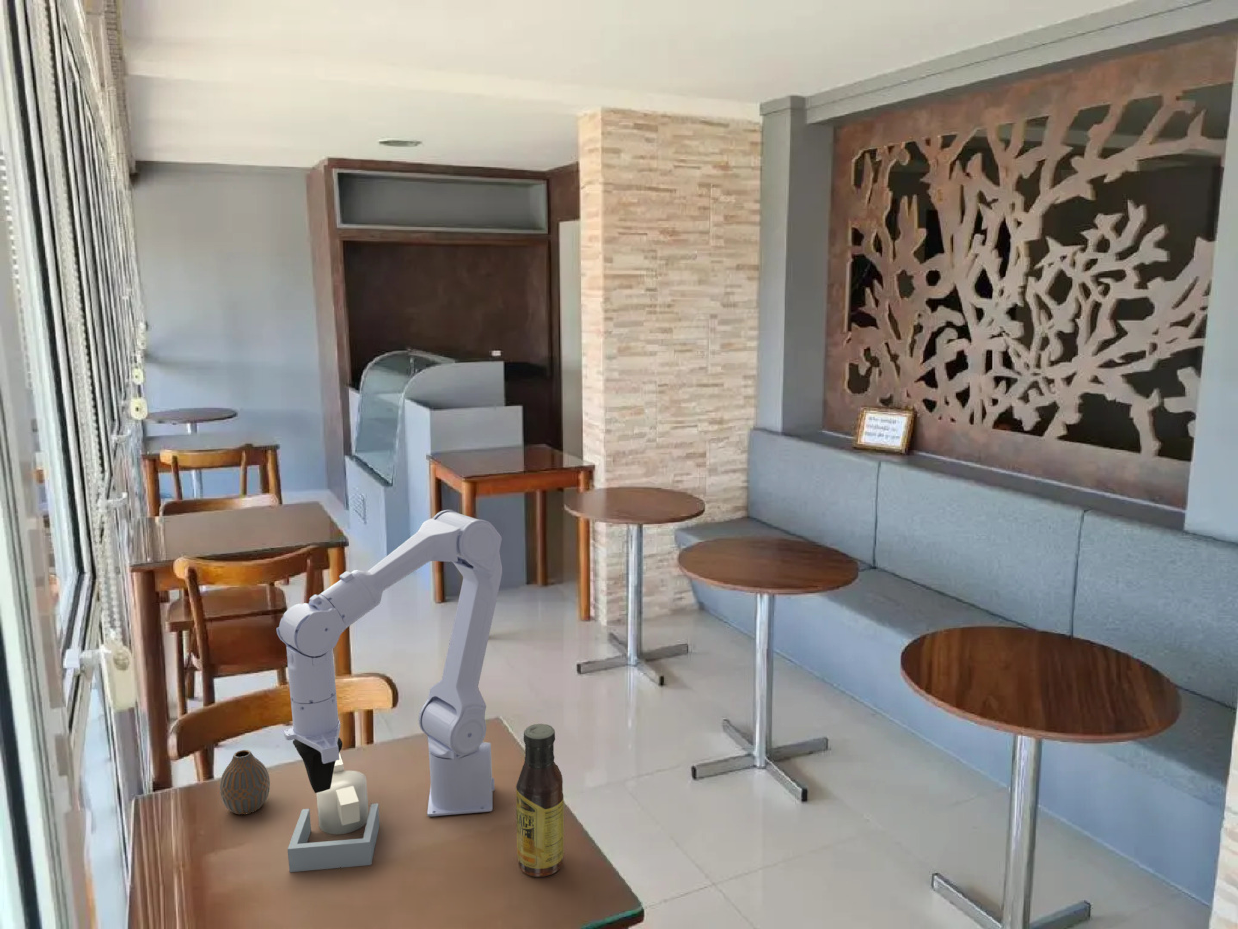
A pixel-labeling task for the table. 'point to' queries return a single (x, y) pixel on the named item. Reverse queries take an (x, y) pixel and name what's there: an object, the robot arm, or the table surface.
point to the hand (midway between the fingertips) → (321, 789)
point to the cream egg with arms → (343, 802)
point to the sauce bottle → (540, 805)
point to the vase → (244, 783)
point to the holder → (331, 846)
